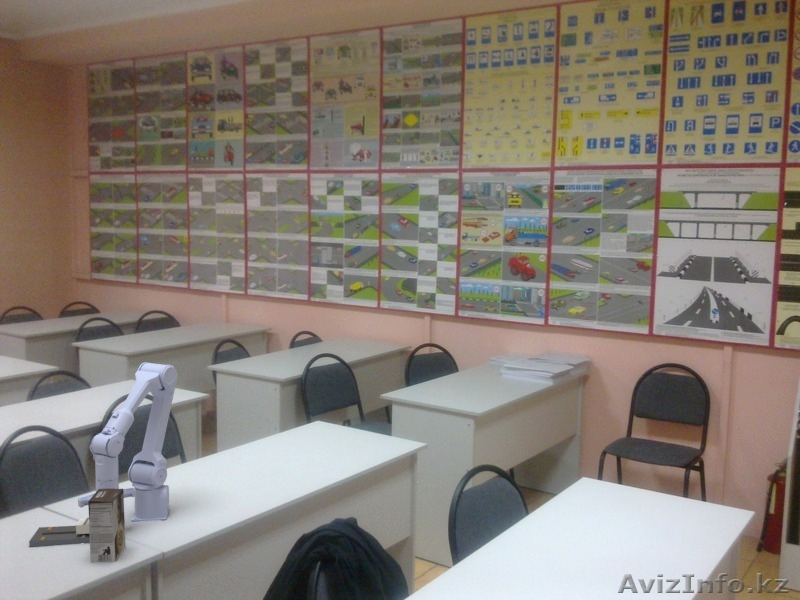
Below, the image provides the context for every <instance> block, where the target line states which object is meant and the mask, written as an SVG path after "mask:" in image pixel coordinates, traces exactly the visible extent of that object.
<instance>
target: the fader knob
mask: <svg viewBox="0 0 800 600" xmlns="http://www.w3.org/2000/svg"><path fill="white" fill-rule="evenodd" d="M75 526H76V534H90V532H89V517H80V518H79V520H78V521H77V523H76V525H75Z"/></svg>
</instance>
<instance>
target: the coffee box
mask: <svg viewBox="0 0 800 600" xmlns="http://www.w3.org/2000/svg"><path fill="white" fill-rule="evenodd" d="M123 489H124V488H119V489H98V491H97V492H96V491H95V493H93V494H94V495H93V496H92V498H91V499H90V500H89V501H88V505H87V506H88V518H89V532H90V543H89V551H90V553H89V554H90V564H92V563H93V564H95V562H96V563H115V562H117V561H118V560H119V558H120V557H121V555H122V553H123V552H124V551H125V549H126V528H125V527H126V525H125V522H126V521H125V520H126V519H125V501H124V499H125V498H124V497H123Z"/></svg>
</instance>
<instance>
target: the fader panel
mask: <svg viewBox="0 0 800 600" xmlns="http://www.w3.org/2000/svg"><path fill="white" fill-rule="evenodd" d="M28 543H29V547H30V548H32V547H34V548H35V547H50V546H67V545H68V546H69V545H79V544H81V543H84V544H90V534H76V525H63V526H62V525H60V526H40V527H38V529H37V530H36V531H35V532H34V534H33V535H32V537H31V538H30V540H29V541H28Z"/></svg>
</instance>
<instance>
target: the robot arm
mask: <svg viewBox="0 0 800 600" xmlns="http://www.w3.org/2000/svg"><path fill="white" fill-rule="evenodd" d="M178 376H179V374H178V371H177V370H176V368H175V367H174V365H172V364H162V363H161V364H160V363H152V362H148V361H145V362H142V363H141V364H139V367H138V369H137V370H136V372H135V373H134V380H135V382H134V384H133V385H132V388H131V390H130V392H129V394H128V395H127V397H126V399H125V401H124V402H123V405H122V406H121V408H118V409H115V410H114V412H113V413H112V414H111V416H110V418H109V419H108V421H107V423H106V424H105V426H104V427H103V428H102V431H101V432H99V433H98V434H96V435H95V436H93V438H92V439H91V442H90V445H89V450H90V452H91V454H92V456H93V460H94V463H95V465H94V466H95V467H94V468H95V470H94V471H95V493H96V492H97V491H98V489H120V487H119V485H120V483H119V479H120V478H119V477H120V476H119V455H120V453H121V452H122V451H123V448H124V441H125V440H126V438H125V437H126V435H127V433H128V432H129V429H130V428H131V427H132V425H133V423H134V421H135V417H134V413H135V412H136V411H137V409H138V408H139V406H140V405H141V404H142V402H143V401H144V400H145V398H146V397H147V396H148V394H149V393H150V394H151V395H152V397H153V398H152V403H151V408H150V410H149V411H150V412H149V417H148V420H147V425H146V429H145V434H144V440H143V444H142V449H141V451H140V452H138V453H136V454H135V455H134V456H133V459H132V462H131V464H130V466H129V468H128V469H127V478H128V481H129V482H130V483H132V488H131V487H130V488H122V489H123V497H124V499H125V498H134V513H133V515H132V518H131V522H144V521H145V522H146V521H149V522H150V521H166V520H167V519H168V515H169V513H170V507H171V506H170V487H169V485H167V484H165V482H166V480H167V477H168V469H167V468H168V460H167V458H165V457H164V456H163V453H162V452H163V451H162V450H163V447H164V441H165V436H166V432H167V428H168V423H169V418H170V414H171V408H172V405H173V400H174V399H173V398H174V394H175V390H176V385H177V381H178ZM95 493H92V494H90V495H86V496H83V497H79V498H78V499H77V502H78V503H77V506H78V507H79V508H81V509H82V508H84V507H85V506H88V501H89V500H90V499H91V498H92V496H93V495H94V494H95Z"/></svg>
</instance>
